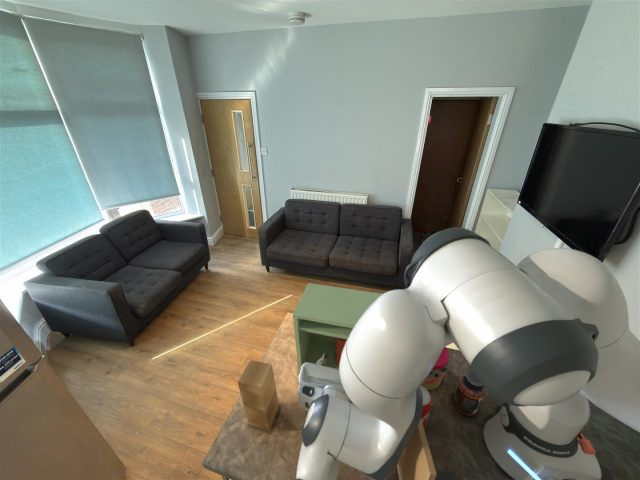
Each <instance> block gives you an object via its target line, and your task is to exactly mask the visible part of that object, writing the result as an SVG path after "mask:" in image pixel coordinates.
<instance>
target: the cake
mask: <svg viewBox="0 0 640 480" xmlns="http://www.w3.org/2000/svg"><path fill="white" fill-rule="evenodd" d="M449 360H450V354H449V351H448V349H447V346H446V347H444V348H443V350H442V352H441V354H440V356H439V358H438V360H437V362H436V364H435V366H434V367H433V369H432V370H431V372H430V374H429V375H428V376H427V378H426V379H425V380H424V382H423V383H422V384H421V386H423V387H424V388H426V389H427V391H428V390H435V389H437V388H439V386H440V384H441V383H442V380H443V379H444V377H445V375H446V373H447V367H446V366H447V365H448V363H449Z"/></svg>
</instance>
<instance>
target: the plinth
mask: <svg viewBox="0 0 640 480" xmlns="http://www.w3.org/2000/svg"><path fill="white" fill-rule="evenodd" d="M237 386H238V390H239V393H240V397H241V400H242V404H243V407H244V411H245V416H246V420H247V423H248V426H252V427H255V428H258V429H262V430H266V431H269V432H271V431H272V428H273V425H274V422H275V419H276V417H277V415H278V412H279V409H280V404H279V397H278V392H277V386H276V380H275V375H274V369H273V364H272V363H267V362H264V361H257V360H255V359H249V360H248V362H247V364H246V366H245V367H244V369H243V370H242V373H240V376H239V378H238V379H237Z"/></svg>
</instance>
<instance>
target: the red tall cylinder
mask: <svg viewBox="0 0 640 480" xmlns="http://www.w3.org/2000/svg"><path fill="white" fill-rule="evenodd" d="M346 341H347V339H343V338H338V337H335V362H336V364H337V366H338V367H339V364H340V359H341V355H342V351H343V348H344V346H345V343H346Z"/></svg>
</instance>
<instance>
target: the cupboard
mask: <svg viewBox="0 0 640 480" xmlns="http://www.w3.org/2000/svg"><path fill="white" fill-rule="evenodd" d="M382 294H383V293H382V292H381V293H380V292H374V291H368V290H367V291H366V290H359V289H355V288H354V289H353V288H346V287H339V286H333V285H332V286H331V285H326V284H319V283H312V282H308V283H307V285H306V287H305V289H304V290H303V292H302V295H301V297H300V299H299V301H298V303H297V305H296V307H295V309H294V311H293V313H292V320H293V330H294V340H295V350H296V361H297V371H298V372H297V373H298V375H299V374H300V370H301V367H302V365H303V364H304V363H305V362H308V363H313V364H316V362H317V361H318V360H319V359H320V358H322V356H323V353H325V354H328V361H327V363H326V362H324V363H323V364H322V366H326V367H331V368H335V369H339V367H338V366H337V364H336V362H335V337H338V338H343V339H348V337H349V335H350V333H351V331H352V330H353V328H354V326H355V325H356V323H357V322H358V320H359V319H360V318H361V316H362V315H363V314H364V312H365V311H366V310H367V309H368V308H369V307H370V305H371V304H372V303H373V302H374V301H375V300H376V299H377V298H378V297H379V296H381V295H382Z"/></svg>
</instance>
